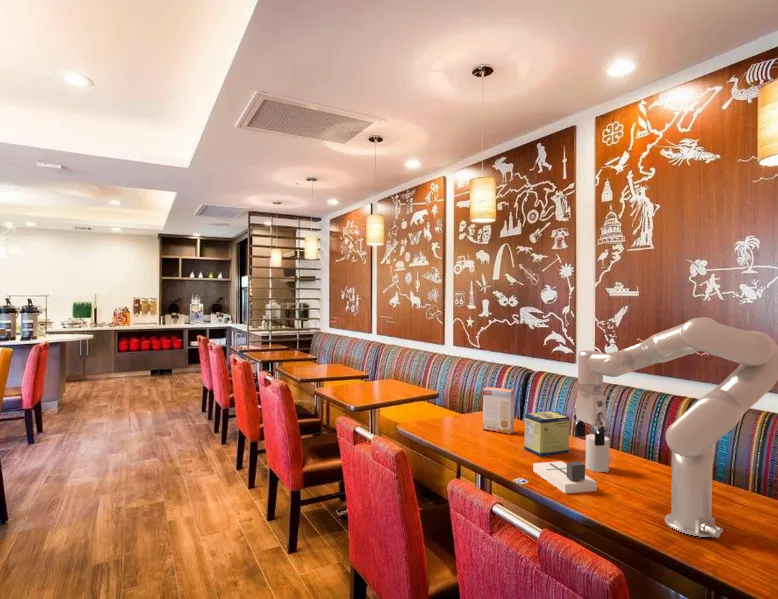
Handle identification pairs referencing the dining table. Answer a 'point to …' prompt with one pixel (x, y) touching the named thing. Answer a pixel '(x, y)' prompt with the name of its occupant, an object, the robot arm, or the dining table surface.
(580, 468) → the fader knob
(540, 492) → the dining table surface
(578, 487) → the fader console
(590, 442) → the white cylinder
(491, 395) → the cracker box
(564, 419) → the protein box
